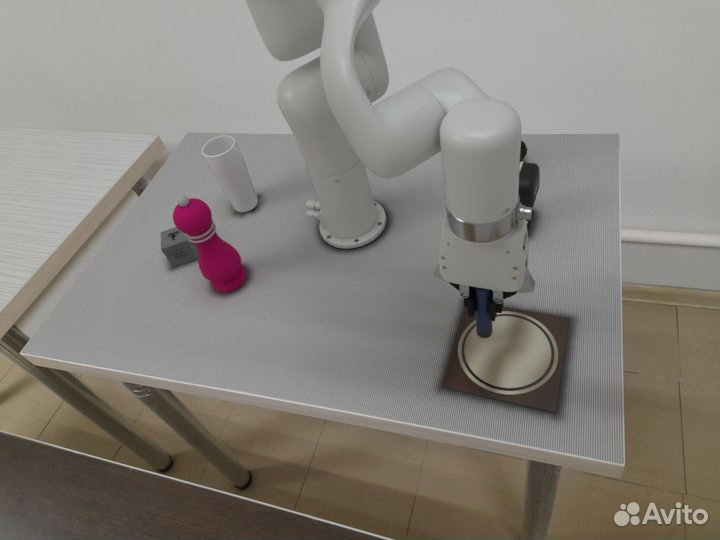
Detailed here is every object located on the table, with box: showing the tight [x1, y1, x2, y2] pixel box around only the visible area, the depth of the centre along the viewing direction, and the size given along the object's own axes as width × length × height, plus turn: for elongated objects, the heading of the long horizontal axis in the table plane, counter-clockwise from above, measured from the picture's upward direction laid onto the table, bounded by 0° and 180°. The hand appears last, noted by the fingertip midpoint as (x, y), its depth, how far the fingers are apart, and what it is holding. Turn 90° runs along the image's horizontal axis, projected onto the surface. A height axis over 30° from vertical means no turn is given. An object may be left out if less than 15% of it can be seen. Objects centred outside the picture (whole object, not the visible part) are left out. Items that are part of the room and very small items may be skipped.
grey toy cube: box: [160, 226, 199, 268], centre depth 100 cm, size 5×5×5 cm
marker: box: [475, 287, 493, 338], centre depth 70 cm, size 2×2×11 cm
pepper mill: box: [172, 194, 247, 293], centre depth 88 cm, size 7×7×20 cm
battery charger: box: [518, 160, 541, 232], centre depth 85 cm, size 7×4×11 cm, turn 157°
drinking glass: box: [201, 134, 259, 214], centre depth 103 cm, size 7×7×15 cm
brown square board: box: [441, 306, 570, 414], centre depth 74 cm, size 15×15×1 cm
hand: (483, 309), depth 70 cm, fingers closed on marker, 2 cm apart
